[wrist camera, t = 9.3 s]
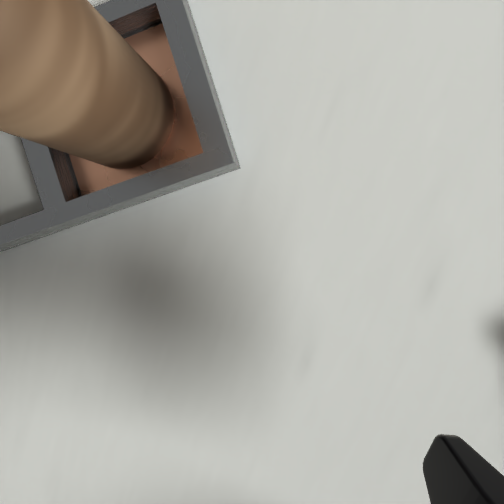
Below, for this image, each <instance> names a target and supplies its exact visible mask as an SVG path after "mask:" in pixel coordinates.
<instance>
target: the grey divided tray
mask: <svg viewBox="0 0 504 504" xmlns="http://www.w3.org/2000/svg"><path fill="white" fill-rule="evenodd" d="M94 8H95V9H96V10H97V11H98V12H99V13H100V14H101V15H102V16H103V17H104V18H105V19H106V21H107V22H108V23H109V24H110V25H111V26H112V27H113V28H114V29H115V30H116V31H117V32H118V33H119V34H120V35H121V36H122V37H123V38H124V39H125V40H126V41H127V42H128V44H129V45H130V46H131V47H132V48H133V49H134V50H135V51H136V52H137V53H138V54H139V55H140V56H141V57H142V58H143V59H144V60H145V61H146V62H147V63H148V64H149V65H150V66H151V68H152V69H153V70H154V71H155V72H156V73H157V74H158V75H159V76H160V77H161V78H162V79H163V81H164V82H165V84H166V85H167V87H168V89H169V91H170V93H171V96H172V100H173V105H174V123H173V128H172V131H171V134H170V137H169V139H168V141H167V143H166V144H165V146H164V147H163V149H162V150H161V151H160V152H159V153H158V154H157V155H156V156H155V157H154V158H153V159H151V160H150V161H148V162H147V163H145V164H143V165H140V166H138V167H134V168H130V169H114V168H110V167H106V166H104V165H101V164H98V163H95V162H92V161H89V160H86V159H83V158H80V157H77V156H74V155H71V154H68V153H65V152H62V151H59V150H56V149H53V148H50V147H47V146H45V145H42V144H39V143H36V142H33V141H30V140H27V139H24V138H21V140H22V143H23V146H24V149H25V152H26V155H27V159H28V162H29V165H30V168H31V171H32V174H33V177H34V180H35V183H36V187H37V190H38V193H39V196H40V199H41V202H42V205H43V208H44V210H42V211H39V212H37V213H34V214H31V215H28V216H26V217H23V218H20V219H17V220H14V221H12V222H9V223H6V224H3V225H0V252H1V251H4V250H7V249H10V248H12V247H15V246H18V245H21V244H24V243H27V242H30V241H33V240H35V239H38V238H41V237H44V236H47V235H50V234H53V233H56V232H58V231H61V230H64V229H67V228H70V227H73V226H76V225H79V224H81V223H84V222H87V221H90V220H93V219H96V218H99V217H102V216H104V215H107V214H110V213H113V212H116V211H119V210H122V209H125V208H127V207H130V206H133V205H136V204H139V203H142V202H145V201H148V200H150V199H153V198H156V197H159V196H162V195H165V194H168V193H171V192H173V191H176V190H179V189H182V188H185V187H188V186H191V185H193V184H196V183H199V182H202V181H205V180H208V179H211V178H214V177H216V176H219V175H222V174H225V173H228V172H231V171H234V170H237V169H239V168H240V165H239V162H238V158H237V155H236V152H235V149H234V146H233V143H232V140H231V136H230V133H229V130H228V127H227V124H226V121H225V118H224V114H223V111H222V108H221V105H220V102H219V99H218V95H217V92H216V89H215V86H214V83H213V80H212V77H211V73H210V70H209V67H208V64H207V61H206V58H205V54H204V51H203V48H202V45H201V42H200V39H199V36H198V32H197V29H196V26H195V23H194V20H193V17H192V14H191V10H190V7H189V4H188V1H187V0H110V1H108V2H106V3H103V4H101V5H99V6H96V7H94Z"/></svg>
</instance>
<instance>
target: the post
mask: <svg viewBox="0 0 504 504" xmlns="http://www.w3.org/2000/svg"><path fill="white" fill-rule="evenodd" d="M173 123H174V105H173V100H172V96H171V93H170V91H169V89H168V87H167V85H166V84H165V82H164V81H163V79H162V78H161V77H160V76H159V75H158V74H157V73H156V72H155V71H154V70H153V69H152V68H151V66H150V65H149V64H148V63H147V62H146V61H145V60H144V59H143V58H142V57H141V56H140V55H139V54H138V53H137V52H136V51H135V50H134V49H133V48H132V47H131V46H130V45H129V44H128V42H127V41H126V40H125V39H124V38H123V37H122V36H121V35H120V34H119V33H118V32H117V31H116V30H115V29H114V28H113V27H112V26H111V25H110V24H109V23H108V22H107V21H106V19H105V18H104V17H103V16H102V15H101V14H100V13H99V12H98V11H97V10H96V9H95V8H94V7H93V6H92V5H91V4H90V3H89V2H88V1H87V0H0V131H3V132H6V133H9V134H12V135H15V136H18V137H21V138H24V139H27V140H30V141H33V142H36V143H39V144H42V145H45V146H47V147H50V148H53V149H56V150H59V151H62V152H65V153H68V154H71V155H74V156H77V157H80V158H83V159H86V160H89V161H92V162H95V163H98V164H101V165H104V166H106V167H110V168H114V169H130V168H134V167H138V166H140V165H143V164H145V163H147V162H148V161H150V160H151V159H153V158H154V157H155V156H156V155H157V154H158V153H159V152H160V151H161V150H162V149H163V147H164V146H165V144H166V143H167V141H168V139H169V137H170V134H171V131H172V128H173Z"/></svg>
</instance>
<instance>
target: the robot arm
mask: <svg viewBox="0 0 504 504" xmlns="http://www.w3.org/2000/svg"><path fill="white" fill-rule="evenodd" d="M423 473H424V477H425V481H426V485H427V489H428V494H429V498H430V502H431V504H504V476H503V475H502V474H501V473H500V472H498V471H497V470H496V469H495V468H494V467H493V466H492V465H491V464H489V463H488V462H487V461H486V460H485V459H484V458H483V457H482V456H481V455H479V454H478V453H477V452H476V451H475V450H474V449H473V448H472V447H470V446H469V445H468V444H467V443H466V442H465V441H464V440H463V439H461V438H460V437H458V436H455V435H444V434H440V435H438V436H436V437H435V439H434V441H433V443H432V444H431V446H430V448H429V450H428V452H427V454H426V456H425V458H424V462H423Z"/></svg>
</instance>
